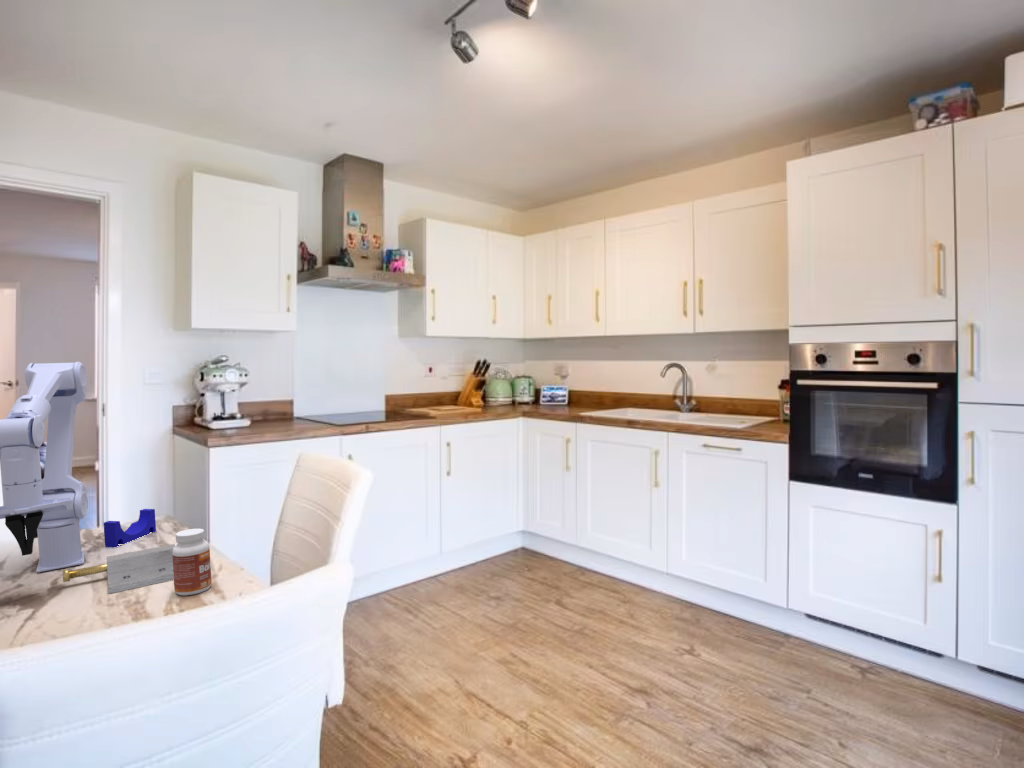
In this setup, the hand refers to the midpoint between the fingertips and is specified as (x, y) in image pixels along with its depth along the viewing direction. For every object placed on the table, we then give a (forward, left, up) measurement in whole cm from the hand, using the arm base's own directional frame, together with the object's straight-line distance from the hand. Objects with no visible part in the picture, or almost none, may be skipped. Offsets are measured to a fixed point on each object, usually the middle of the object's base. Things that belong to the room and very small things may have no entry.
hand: (27, 553), depth 110 cm
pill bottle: (+18, +25, -8) cm, 32 cm away
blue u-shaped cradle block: (-28, +17, -8) cm, 34 cm away
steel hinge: (0, +18, -8) cm, 20 cm away
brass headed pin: (0, +12, -7) cm, 13 cm away
